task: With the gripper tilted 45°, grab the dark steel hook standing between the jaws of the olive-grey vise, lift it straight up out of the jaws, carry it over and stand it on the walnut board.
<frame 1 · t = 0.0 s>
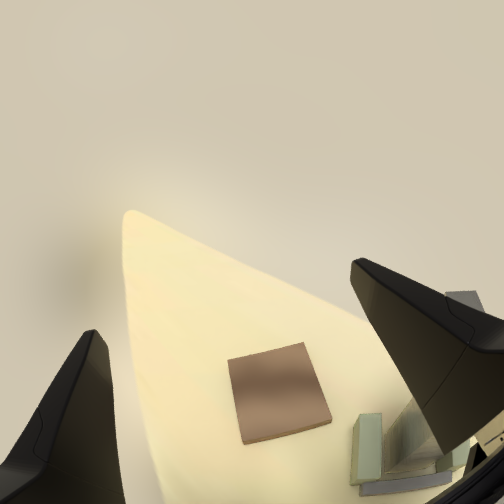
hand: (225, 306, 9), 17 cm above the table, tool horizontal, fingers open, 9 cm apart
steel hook: (405, 452, 17), on the table
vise: (405, 452, 17), on the table
walnut board: (276, 394, 23), on the table
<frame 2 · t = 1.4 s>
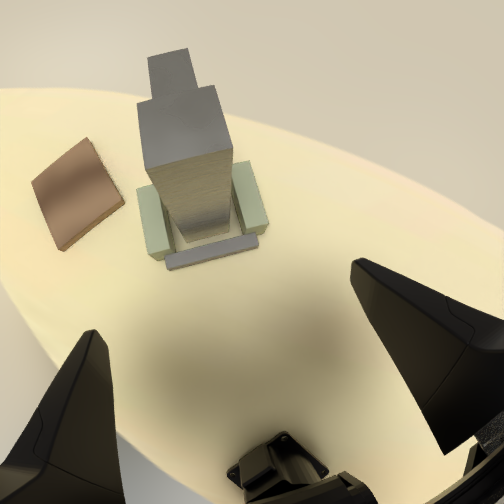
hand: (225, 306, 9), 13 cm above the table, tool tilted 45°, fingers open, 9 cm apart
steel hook: (202, 217, 24), on the table
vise: (202, 217, 24), on the table
walnut board: (75, 193, 23), on the table
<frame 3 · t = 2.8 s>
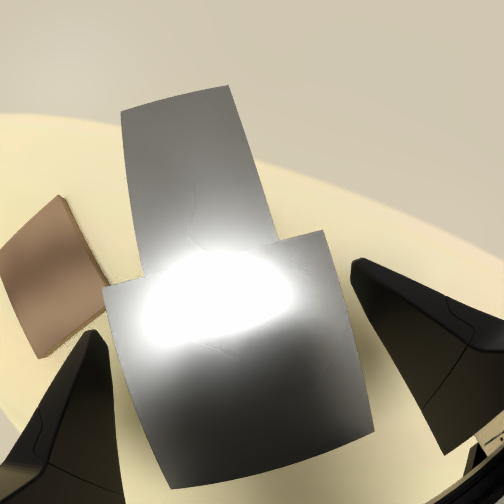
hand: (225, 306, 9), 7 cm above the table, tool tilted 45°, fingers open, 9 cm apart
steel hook: (231, 324, 17), on the table
walnut board: (50, 277, 16), on the table
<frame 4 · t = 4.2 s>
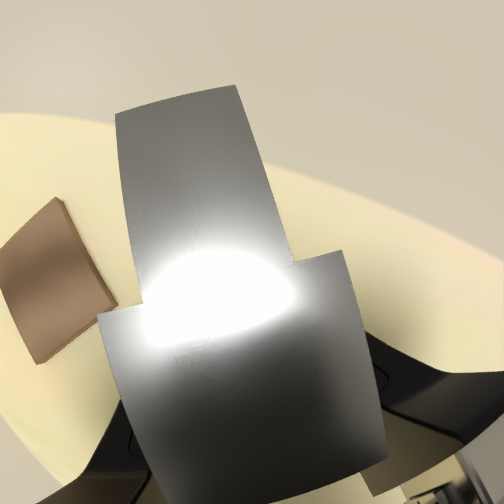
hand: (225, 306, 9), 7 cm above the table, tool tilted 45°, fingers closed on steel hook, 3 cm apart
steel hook: (232, 330, 16), on the table, touching gripper
walnut board: (48, 281, 16), on the table
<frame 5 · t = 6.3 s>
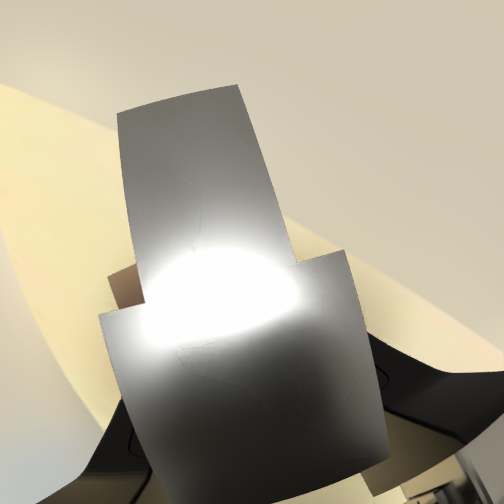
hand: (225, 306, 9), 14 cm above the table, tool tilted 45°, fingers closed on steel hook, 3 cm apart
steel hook: (233, 330, 16), point 7 cm above the table, touching gripper
walnut board: (165, 307, 23), on the table
when the fingers open (9 cm above the table, at t = 8.4 s): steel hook stays where it is, resting on walnut board.
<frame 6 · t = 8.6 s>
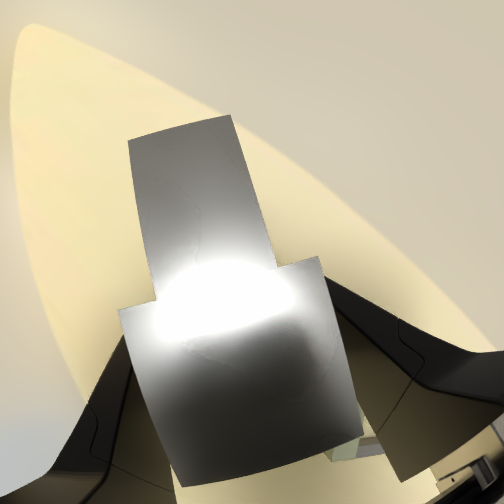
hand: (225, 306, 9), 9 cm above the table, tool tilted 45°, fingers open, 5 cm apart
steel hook: (232, 329, 17), point 1 cm above the table, touching walnut board
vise: (378, 407, 18), on the table
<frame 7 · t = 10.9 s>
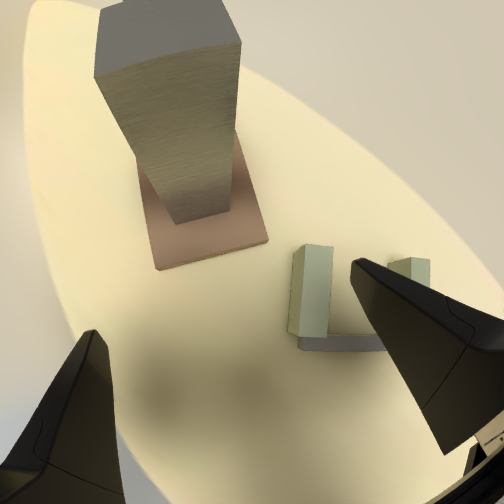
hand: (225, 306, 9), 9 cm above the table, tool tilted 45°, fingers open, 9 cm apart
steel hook: (196, 192, 18), point 1 cm above the table, touching walnut board
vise: (353, 296, 19), on the table
walnut board: (198, 198, 19), on the table
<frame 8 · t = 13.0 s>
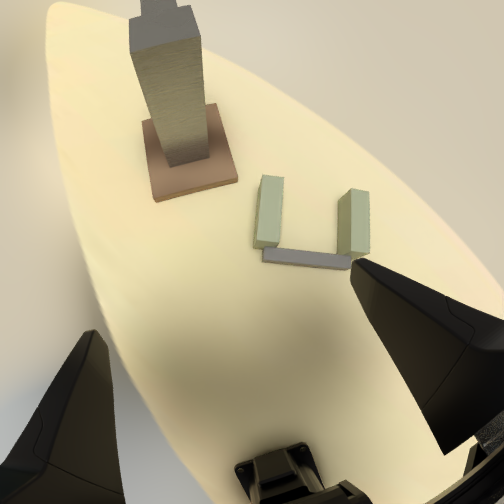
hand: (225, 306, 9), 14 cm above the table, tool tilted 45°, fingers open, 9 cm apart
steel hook: (185, 146, 24), point 1 cm above the table, touching walnut board
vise: (307, 224, 25), on the table
walnut board: (187, 151, 25), on the table
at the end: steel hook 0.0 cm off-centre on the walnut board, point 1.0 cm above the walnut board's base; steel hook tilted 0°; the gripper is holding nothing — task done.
